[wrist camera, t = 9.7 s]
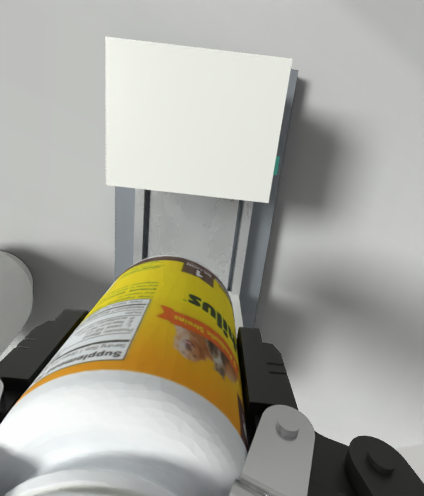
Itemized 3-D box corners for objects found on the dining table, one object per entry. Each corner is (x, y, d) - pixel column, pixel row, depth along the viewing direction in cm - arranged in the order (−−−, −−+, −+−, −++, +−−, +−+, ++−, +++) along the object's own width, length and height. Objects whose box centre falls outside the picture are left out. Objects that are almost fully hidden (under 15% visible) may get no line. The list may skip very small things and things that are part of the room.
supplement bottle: (248, 340, 14) (318, 762, 4) (140, 370, 15) (-11, 798, 5) (210, 232, 12) (188, 516, 3) (91, 270, 13) (-273, 613, 3)
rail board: (122, 55, 22) (116, 48, 21) (293, 75, 23) (298, 70, 21) (119, 346, 30) (114, 355, 29) (245, 358, 31) (246, 368, 29)
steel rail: (143, 60, 21) (138, 54, 20) (270, 75, 21) (273, 70, 20) (134, 353, 29) (130, 362, 28) (227, 362, 29) (227, 372, 28)
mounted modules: (141, 73, 21) (105, 36, 14) (272, 88, 21) (298, 59, 14) (133, 349, 28) (106, 411, 21) (231, 359, 28) (235, 424, 21)
